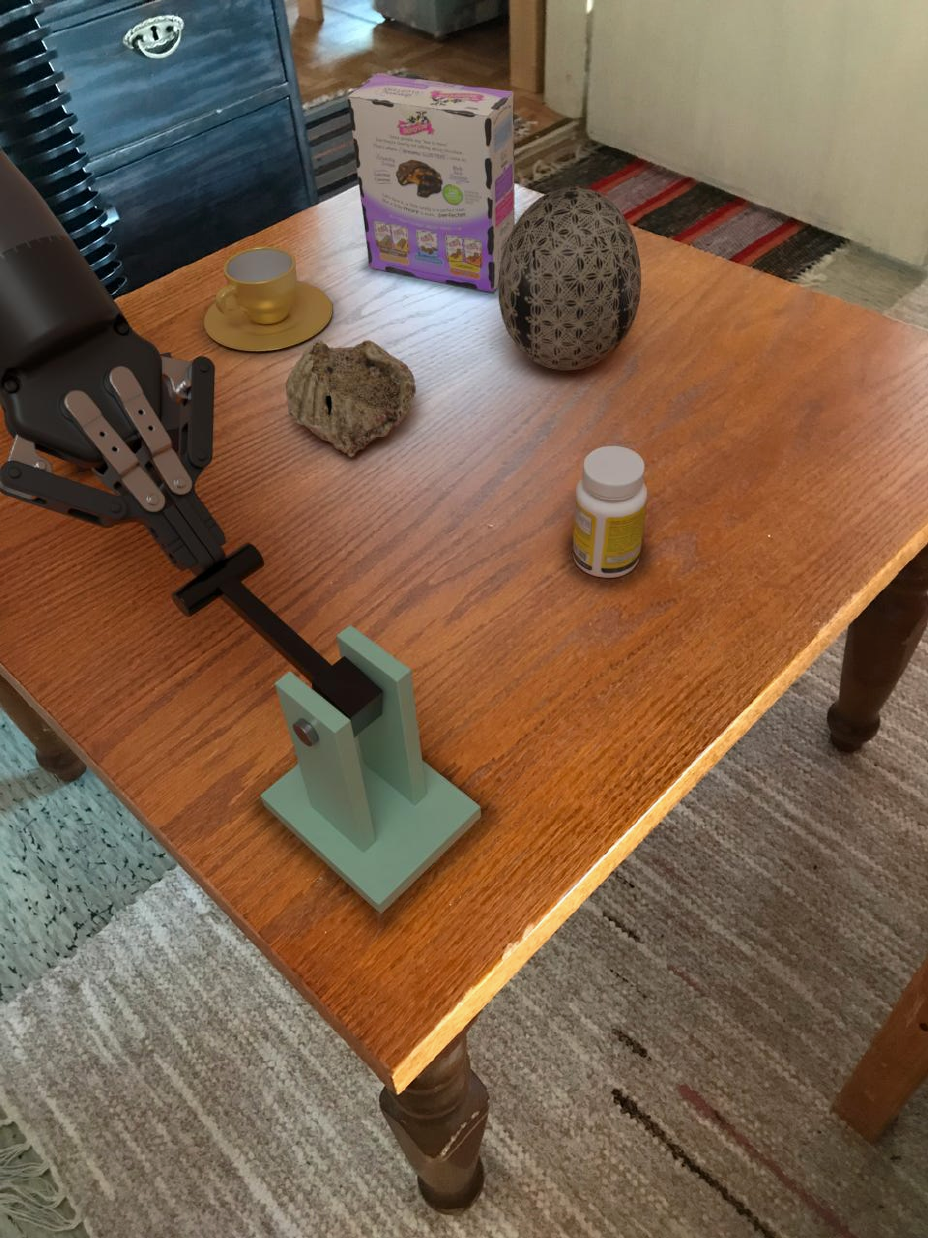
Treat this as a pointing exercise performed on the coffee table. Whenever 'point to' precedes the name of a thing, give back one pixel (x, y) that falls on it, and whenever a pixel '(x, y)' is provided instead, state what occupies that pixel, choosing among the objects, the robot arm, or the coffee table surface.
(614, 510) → the supplement bottle
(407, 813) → the bracket
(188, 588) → the lever
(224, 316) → the cup
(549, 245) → the decorative egg
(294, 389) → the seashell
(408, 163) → the candy box
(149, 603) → the coffee table surface
